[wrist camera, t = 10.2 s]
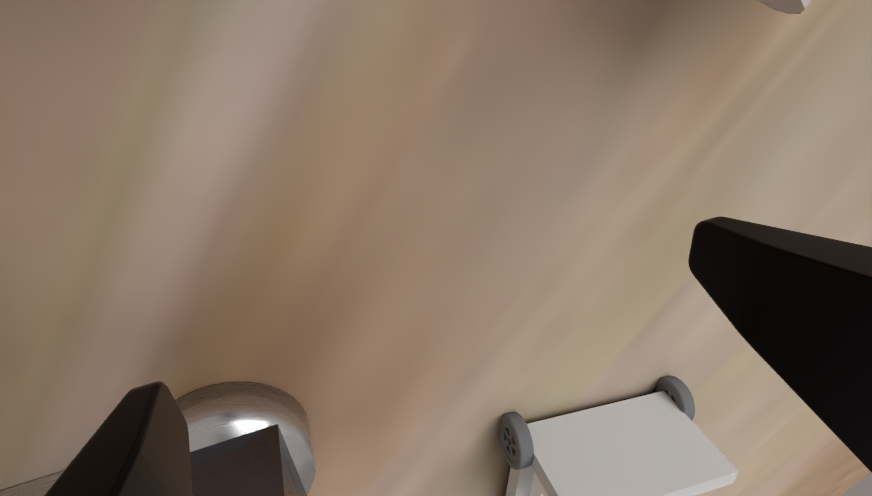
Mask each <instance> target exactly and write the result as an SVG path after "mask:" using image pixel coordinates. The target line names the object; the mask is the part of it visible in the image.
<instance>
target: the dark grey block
mask: <svg viewBox="0 0 872 496" xmlns="http://www.w3.org/2000/svg"><path fill="white" fill-rule="evenodd" d="M190 462H191V478H192V494H193V496H307V494H306V492H305V489H304V487H303V484H302V482H301V479H300V477H299V475H298V472H297V470H296V467H295V465H294V462H293V460H292V457H291V455H290V453H289V450H288V448H287V445H286V443H285V440H284V438H283V435H282V433H281V430H280V428H279V426H278V424H276V425H273V426H269V427H266V428H263V429H260V430H257V431H254V432H251V433H248V434H245V435H242V436H238V437H235V438H232V439H229V440H226V441H223V442H220V443H217V444H214V445H210V446H207V447H204V448H201V449H198V450H195V451H192V452H190Z"/></svg>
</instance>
